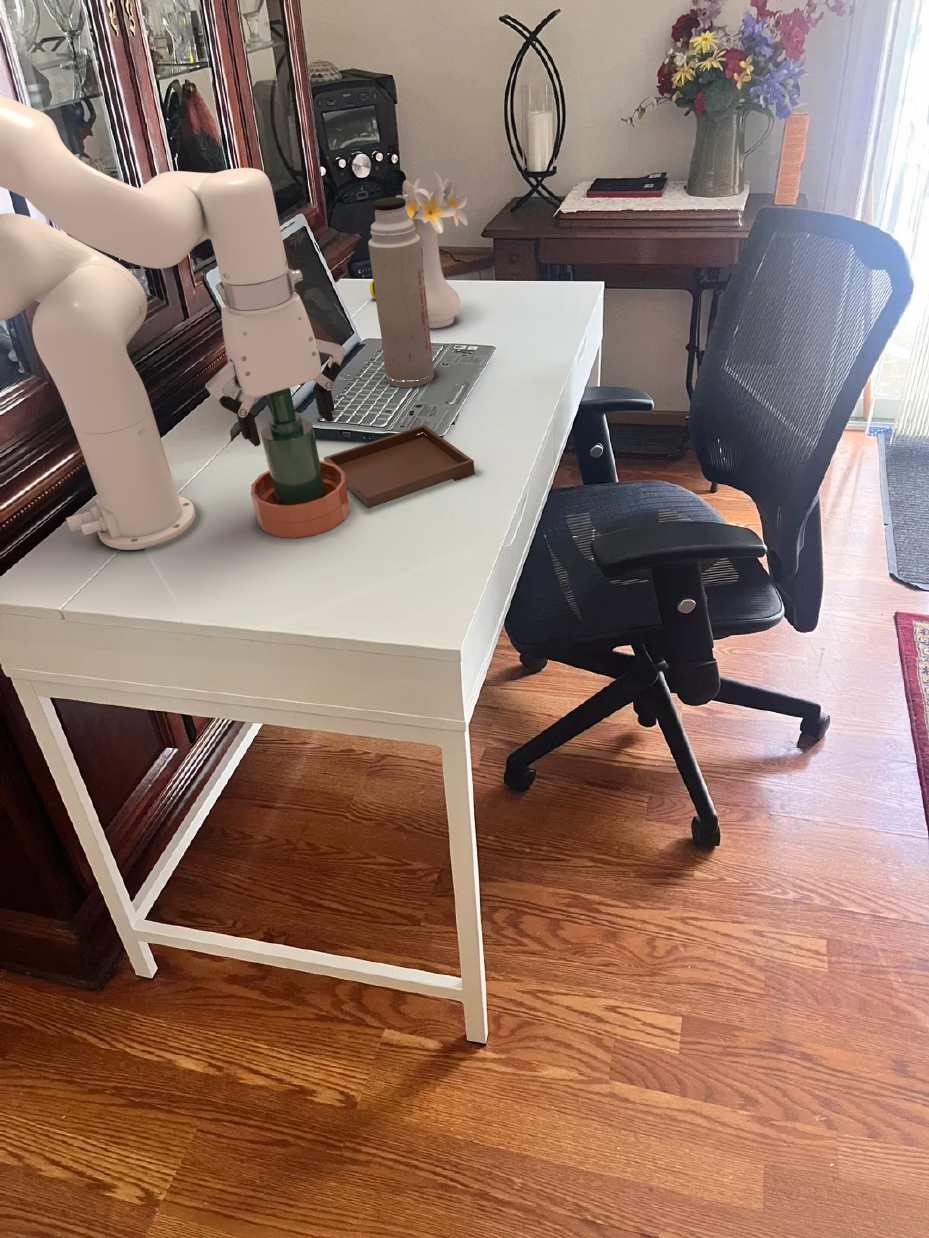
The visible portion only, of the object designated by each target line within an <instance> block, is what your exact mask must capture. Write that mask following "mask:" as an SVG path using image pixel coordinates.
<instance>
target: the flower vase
mask: <svg viewBox="0 0 929 1238" xmlns="http://www.w3.org/2000/svg"><path fill="white" fill-rule="evenodd" d="M433 173H434V178H435V181H436V185H437V187H435V188H434V190H433V191H432V192H431V193H429V191H428V190H427V189H425V188H421V183H422V179H421V178H420V177H419V178H417V180H416V181H415V183H414V184H411V182H410V181H409V179H405V180H404V181H403V183H402V192H403V195H400V194H398V195H396V196H395V197H400V198H404V199H405V201H406V205H405V208H406V209H407V216H408V218H409V219H411V220H412V221H413V222H414V226H415V234H417V235H419V236H420V242H421V252H422V261H423V271H424V281H425V291H426V301H427V311H428V320H429V329H440V328H446V327H448V326H450V325H452V324H453V323H454V320H455V318H454V317H455V316H456V315H457V314H458V313H459V312H460V310H461V306H462V303H461V298H460V296H459V295H458V293H457V291H456V290H455V289H454V288H453V287H451V286H450V285H449V284H448V282H447V280H446V278H445V276H444V273H443V269H442V263H441V256H440V247H439V234H443V232H444V228H445V227H444V226H445V225H444V222H443V220H442V218H443V219H445V218H451V219H452V221H453V224H454V226H455V227H456V228H458V227H459V221H460V222H461V223H462V224H463V226H468V225H469V222H468V218H467V216H466V213H464V212H463V210H462V209H463V208H464V207H465V206H466V205H467V202H468V197H467V195H466V194H465V193H462V194H460V195H458V183H457V181H456V180H454V181H452V179H451V178H449V177H447V178H445V180H444V182H443V181H442V178H441V176H440V175H439V174H438V173H437V172H436V171H434V172H433ZM443 202H444V203H446V204H442V203H443ZM420 209H421V210H420Z"/></svg>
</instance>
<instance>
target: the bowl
mask: <svg viewBox="0 0 929 1238" xmlns="http://www.w3.org/2000/svg"><path fill="white" fill-rule="evenodd" d="M319 461H320V466H321V472H322V477H323V482H324V487H325V493H326V496H324V497H323V498H320V499H317V500H314V501H311V502H308V503H303V504H296V505H277V502H276V498H275V493H274V489H273V485H272V480H271V476H270V472H269V470H267V471H265V472H263V473H262V474H260V475H258V477H257V478H256V479H255V480H254V481H253V483H252V484H251V487H250V496H251V501H252V504H253V509H254V513H255V517H256V520H257V524H258V525H259V527H260V528H261V529H262V530H263V531H264V532H265V533H267V534H270V535H272V536H275V537H277V538H286V539H287V538H288V539H289V538H290V539H297V538H304V537H312V536H317V535H319V534H321V533H322V534H323V533H325V532H328V531H330V530H332V529H334V528H336V527H337V526H338V525H339V524H341V523H343V522H344V521H345V520H346V518H347V517H348V516H349V514H350V513H351V504H350V503H351V502H350V496H349V492H348V491H349V489H348V488H347V484H346V479H345V473H344V472H343V471H342V470H341V469H340V468H339V467H338V466H337V465H334V464H331V463H328V462H325V461H324V460H319Z"/></svg>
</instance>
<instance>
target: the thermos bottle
mask: <svg viewBox="0 0 929 1238" xmlns="http://www.w3.org/2000/svg"><path fill="white" fill-rule="evenodd" d="M404 198H405V197H404ZM404 198H400V197H396V196H395V197H394V196H390V197H383V198H380V199H376V200H374V201H373V202H372V207H373V209H374V210H375V211H374V219H375V221H374V222H373V223H372V224H371V225H370V235H371V238H370V239H369V240H368V243H367V244H368V251H369V258H370V266H371V273H372V281H373V282H374V289H375V297H376V299H375V303H376V310H377V312H376V313H377V318H378V319H377V320H378V323H379V329H380V337H381V349H382V356H383V364H384V370H385V378H386V382H387V384H389V385H390V386H392V387H395V388H405V389H406V388H407V389H409V388H416V387H419V386H424V385H426V384H428V383H430V382H431V381H432V380H433V379H434V377H435V370H434V361H433V360H434V359H433V352H432V351H433V350H432V342H431V331H430V328H429V320H428V311H427V301H426V291H425V281H424V271H423V254H422V247H421V242H420V236H419V235H417V234H415V226H414V222H413V221H412V220H411V219H409V218H408V216H407V209H406V208H405V205H406V201H405V199H404ZM386 375H387V376H388V377H390V378H392V379H395V380H419V379H422V380H419V381H414V382H396V381H392V380H390V379H388V378H387V377H386ZM428 376H429V377H428ZM426 377H427V378H426ZM423 378H425V379H423Z"/></svg>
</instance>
